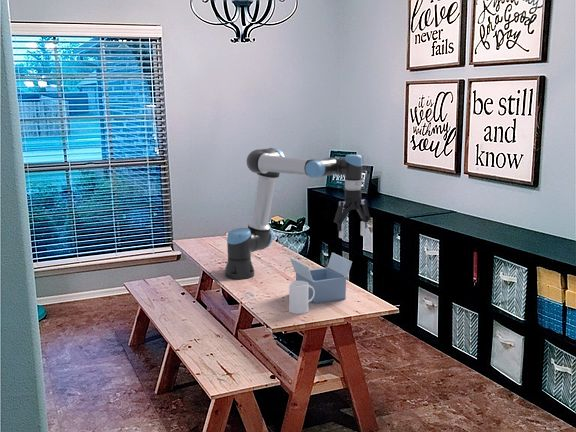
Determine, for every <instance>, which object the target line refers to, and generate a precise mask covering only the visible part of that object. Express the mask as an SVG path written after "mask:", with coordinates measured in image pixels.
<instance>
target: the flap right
mask: <svg viewBox="0 0 576 432" xmlns="http://www.w3.org/2000/svg"><path fill="white" fill-rule="evenodd" d="M352 263H353V261H352V260H349V259H347V258H345V257H343V256H341V255H339V254H336V253H335V252H331V255H330V257H329V261H328V264H327V266H326V268H328V269H330V270H332V271H334V272H336V273H338V274H340V275H342V276H344V277H346V278H348V275H349V274H350V270H351V268H352Z"/></svg>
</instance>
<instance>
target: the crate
mask: <svg viewBox="0 0 576 432" xmlns="http://www.w3.org/2000/svg"><path fill="white" fill-rule="evenodd" d="M309 270H310V273H311V276H312V279H313V281H314V282H311V281H310V280H308V279H306V278H304V277H303V276H301V275H299V274H298V273H296V272H295V281H305V282H308V284H309V285H311V286H312V287H313V288H314V291H315V295H314V298H313V300H312V301H311V302H310V303H311V304H313V305H315V304H316V305H317V304H323V303H329V302H336V301H343V300H346V295H347V294H346V293H347V291H346V290H347V277H345V276H343V275H341V274H339V273H337V272H335V271H333V270H331V269H329V268H327V267H321V268H314V269H309ZM312 296H313V289H312V288H310V287H309V290H308V300H310V299H311V298H312Z"/></svg>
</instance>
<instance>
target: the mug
mask: <svg viewBox="0 0 576 432" xmlns="http://www.w3.org/2000/svg"><path fill="white" fill-rule="evenodd" d="M288 285H289V287H288V289H289V292H288V293H289V295H288V299H289V300H288V312H289V313H290V314H294V315H304V314H307V313H309V311H310V308H309V303H311V301H312V300H313V298H314V295H315V291H314V288H313V287H312V286H311V285H309V284H308V282H305V281H296V280H292V281H290V282H289V284H288ZM309 287H310V288H312V289H313V296H312V298H311V299H310V300H308V290H309Z"/></svg>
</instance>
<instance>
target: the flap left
mask: <svg viewBox="0 0 576 432" xmlns="http://www.w3.org/2000/svg"><path fill="white" fill-rule="evenodd" d="M289 259H290V262H291V265H292V268H293V271H294V272H295V274H296V273H298V274H299V275H301V276H303V277H304V278H306V279H308V280H310V281H311V282H314V281H313V279H312V276H311V273H310V270H311V269H310V268H309V266H308V265H306V264H304V263H303V262H301V261H299V260H298V259H296V258H294V257H291V256H290V257H289Z"/></svg>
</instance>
